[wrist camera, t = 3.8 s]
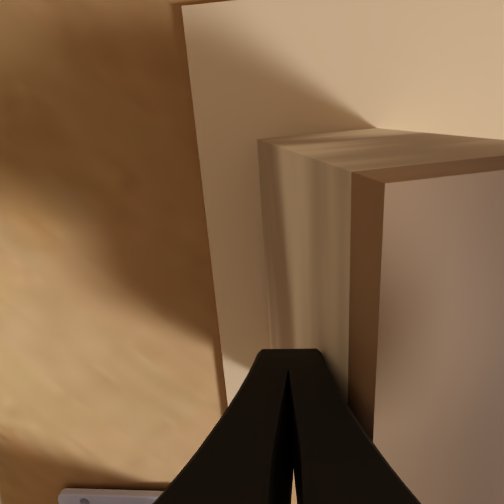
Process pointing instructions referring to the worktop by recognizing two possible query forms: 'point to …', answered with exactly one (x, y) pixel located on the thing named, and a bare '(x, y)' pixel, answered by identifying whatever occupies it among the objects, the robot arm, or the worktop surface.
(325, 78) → the beige square board
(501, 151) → the maple block
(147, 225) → the worktop surface
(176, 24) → the worktop surface
